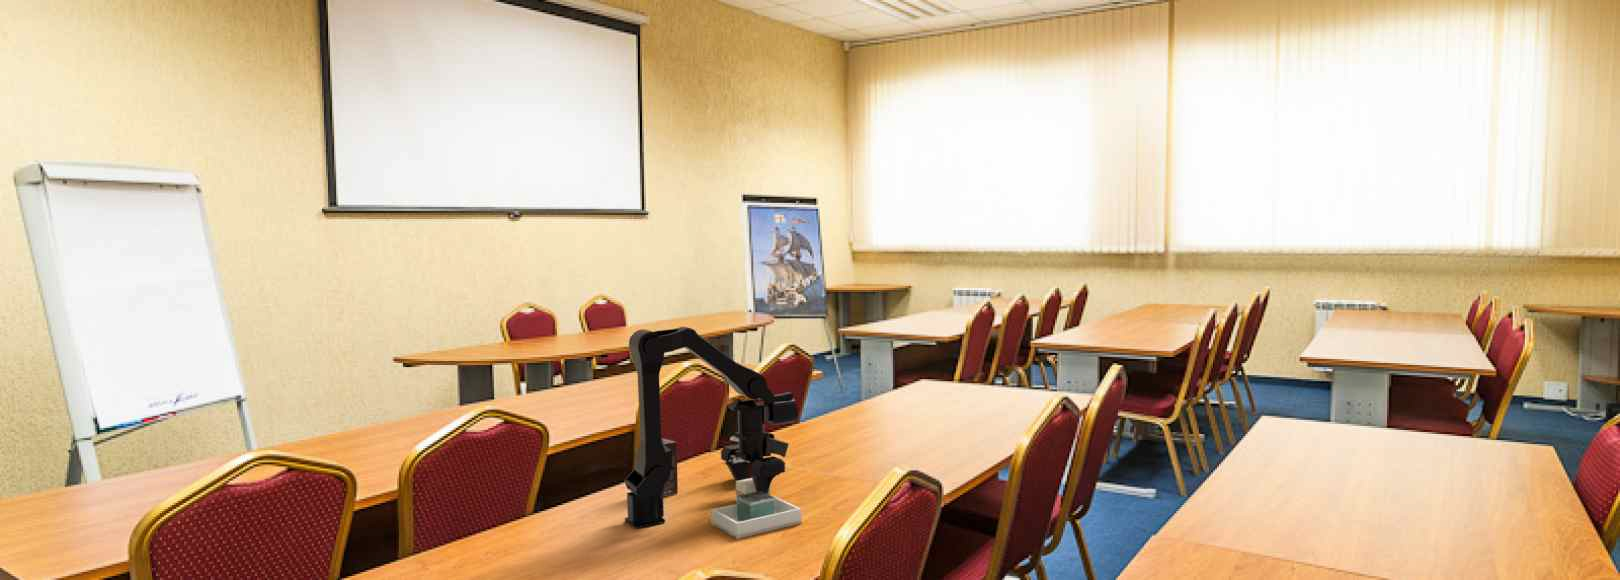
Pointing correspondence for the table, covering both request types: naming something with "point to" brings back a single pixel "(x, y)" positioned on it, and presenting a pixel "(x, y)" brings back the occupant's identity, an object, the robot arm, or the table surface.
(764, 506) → the tin
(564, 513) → the table surface
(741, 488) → the carton
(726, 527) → the tote
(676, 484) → the box
